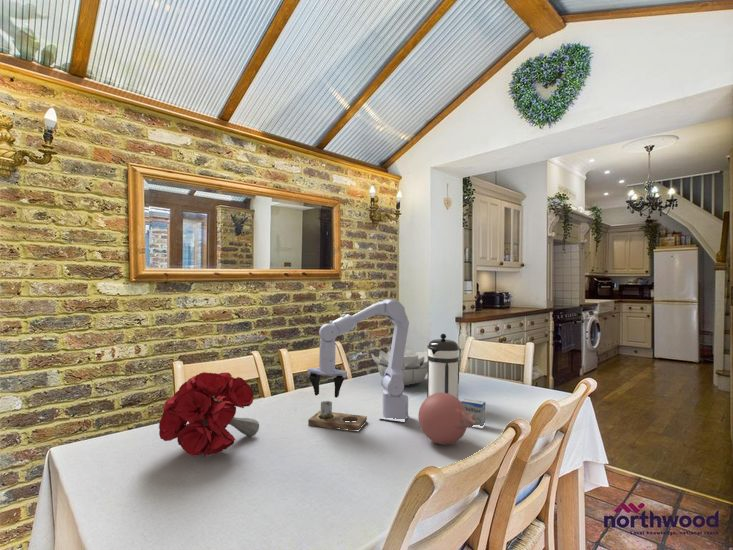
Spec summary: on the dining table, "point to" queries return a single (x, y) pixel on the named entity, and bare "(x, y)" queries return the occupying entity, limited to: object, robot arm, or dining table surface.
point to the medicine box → (475, 410)
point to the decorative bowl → (406, 365)
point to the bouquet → (207, 413)
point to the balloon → (444, 418)
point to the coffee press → (443, 367)
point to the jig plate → (338, 421)
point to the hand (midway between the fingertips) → (326, 395)
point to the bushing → (326, 410)
